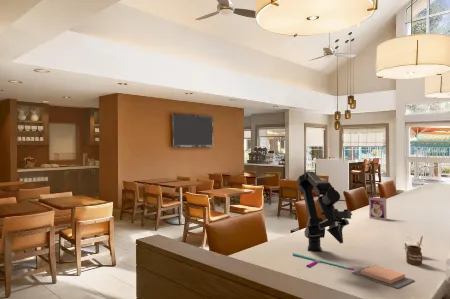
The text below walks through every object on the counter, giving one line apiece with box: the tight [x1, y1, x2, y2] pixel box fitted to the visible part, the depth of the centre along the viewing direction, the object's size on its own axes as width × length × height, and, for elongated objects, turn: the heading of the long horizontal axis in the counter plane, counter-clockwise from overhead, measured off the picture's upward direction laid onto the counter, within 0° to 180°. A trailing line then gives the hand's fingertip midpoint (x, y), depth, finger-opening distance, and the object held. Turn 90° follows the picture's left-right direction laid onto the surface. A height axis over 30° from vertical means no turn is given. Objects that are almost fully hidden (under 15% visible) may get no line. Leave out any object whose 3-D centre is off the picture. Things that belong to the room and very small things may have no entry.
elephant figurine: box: [403, 240, 424, 253], centre depth 152 cm, size 8×10×7 cm
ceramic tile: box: [360, 264, 406, 284], centre depth 125 cm, size 2×10×12 cm
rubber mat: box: [352, 265, 415, 290], centre depth 125 cm, size 18×12×1 cm, turn 34°
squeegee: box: [292, 252, 356, 271], centre depth 140 cm, size 29×2×10 cm
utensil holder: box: [405, 235, 424, 266], centre depth 141 cm, size 6×6×12 cm
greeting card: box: [368, 197, 387, 221], centre depth 233 cm, size 11×7×15 cm, turn 43°
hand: (341, 243), depth 139 cm, fingers closed
